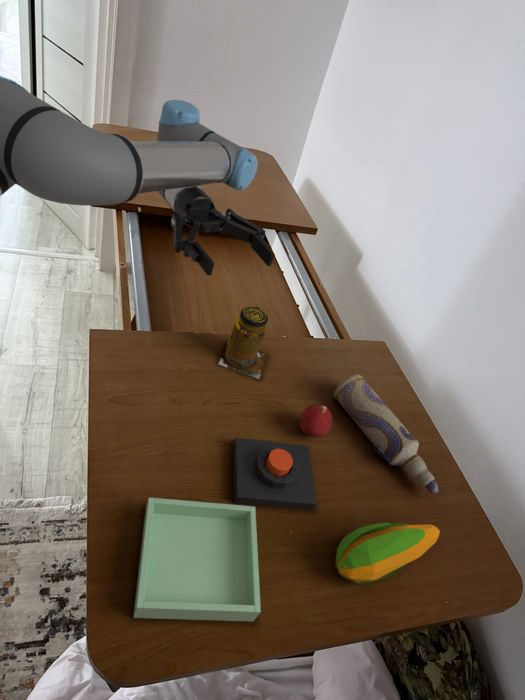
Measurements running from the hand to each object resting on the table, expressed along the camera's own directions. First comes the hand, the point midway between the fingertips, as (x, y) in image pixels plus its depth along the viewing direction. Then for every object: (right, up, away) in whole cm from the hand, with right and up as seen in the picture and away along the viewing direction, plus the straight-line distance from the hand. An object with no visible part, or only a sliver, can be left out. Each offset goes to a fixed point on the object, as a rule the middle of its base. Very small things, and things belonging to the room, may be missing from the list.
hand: (242, 264), depth 94 cm
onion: (+12, -31, -1) cm, 34 cm away
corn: (+22, -48, -15) cm, 55 cm away
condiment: (0, -18, +7) cm, 20 cm away
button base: (+5, -37, -10) cm, 39 cm away
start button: (+6, -34, -13) cm, 37 cm away
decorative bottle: (+25, -34, +2) cm, 42 cm away
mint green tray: (-5, -46, -24) cm, 52 cm away
